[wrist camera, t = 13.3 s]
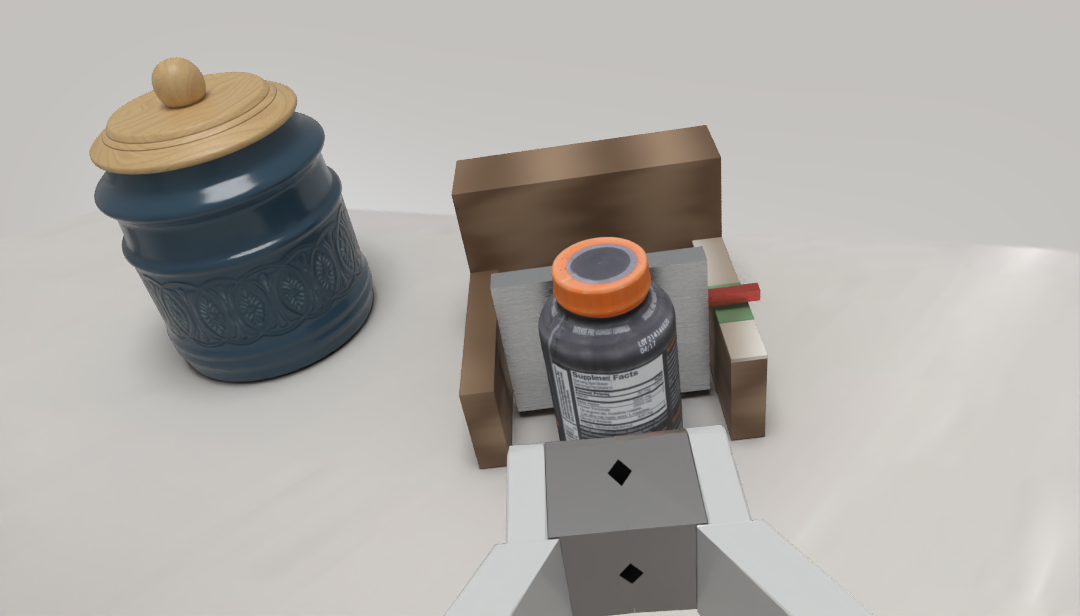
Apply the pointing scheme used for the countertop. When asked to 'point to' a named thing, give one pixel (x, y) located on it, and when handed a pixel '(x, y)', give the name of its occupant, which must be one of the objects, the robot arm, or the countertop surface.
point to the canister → (233, 222)
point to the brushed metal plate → (671, 270)
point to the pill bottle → (609, 343)
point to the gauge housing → (584, 213)
